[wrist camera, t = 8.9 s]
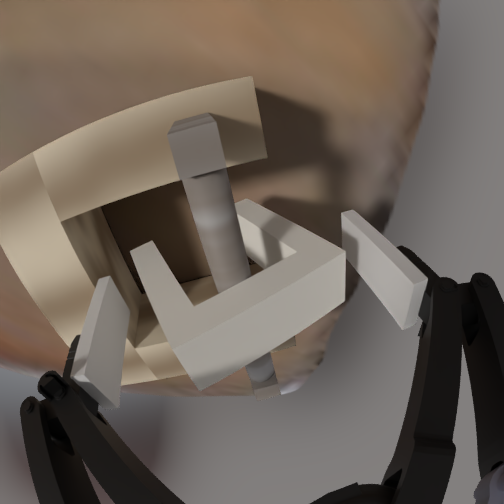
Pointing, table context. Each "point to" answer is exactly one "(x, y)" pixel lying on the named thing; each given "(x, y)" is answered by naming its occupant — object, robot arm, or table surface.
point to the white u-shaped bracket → (247, 296)
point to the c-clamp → (123, 185)
